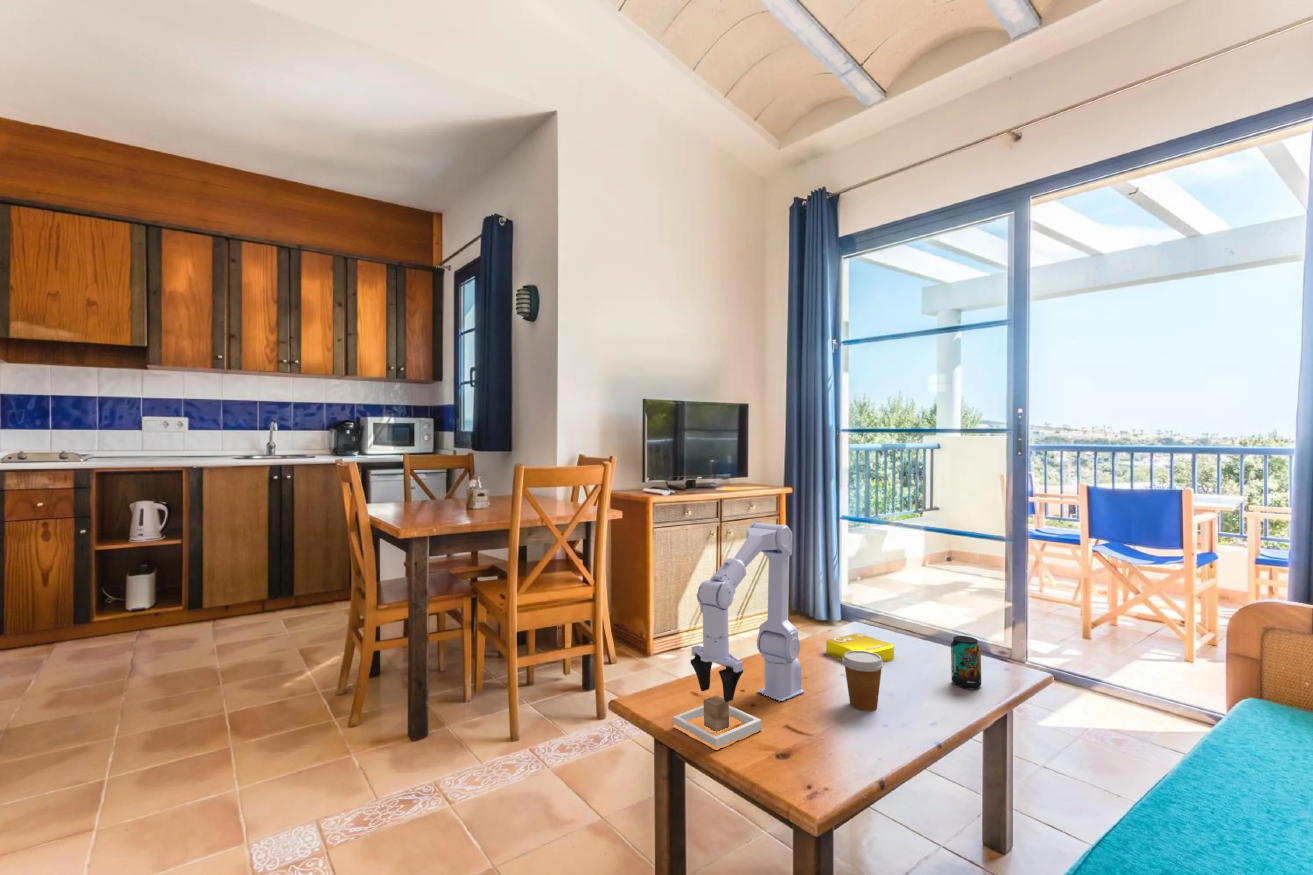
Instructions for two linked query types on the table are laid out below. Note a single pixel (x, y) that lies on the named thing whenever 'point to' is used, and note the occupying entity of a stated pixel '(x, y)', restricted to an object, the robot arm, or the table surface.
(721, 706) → the brown rectangular block
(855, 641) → the yellow printed box
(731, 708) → the white tray
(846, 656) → the disposable coffee cup
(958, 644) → the beverage can
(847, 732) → the table surface
